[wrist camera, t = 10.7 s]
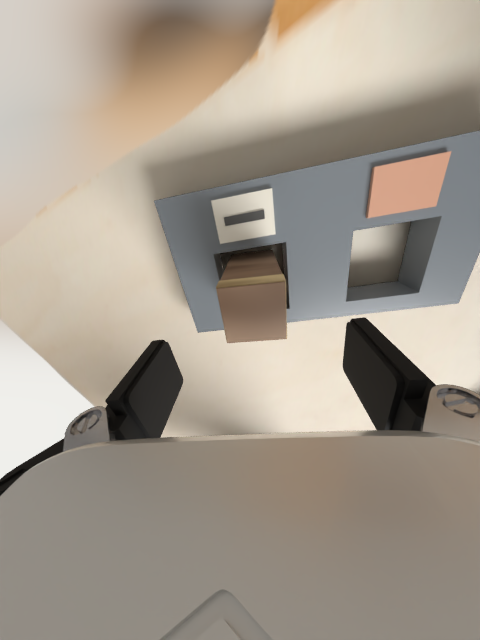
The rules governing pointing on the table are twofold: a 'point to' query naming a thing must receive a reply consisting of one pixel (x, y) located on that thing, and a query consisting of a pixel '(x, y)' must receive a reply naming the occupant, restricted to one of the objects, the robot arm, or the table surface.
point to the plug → (253, 298)
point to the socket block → (337, 229)
